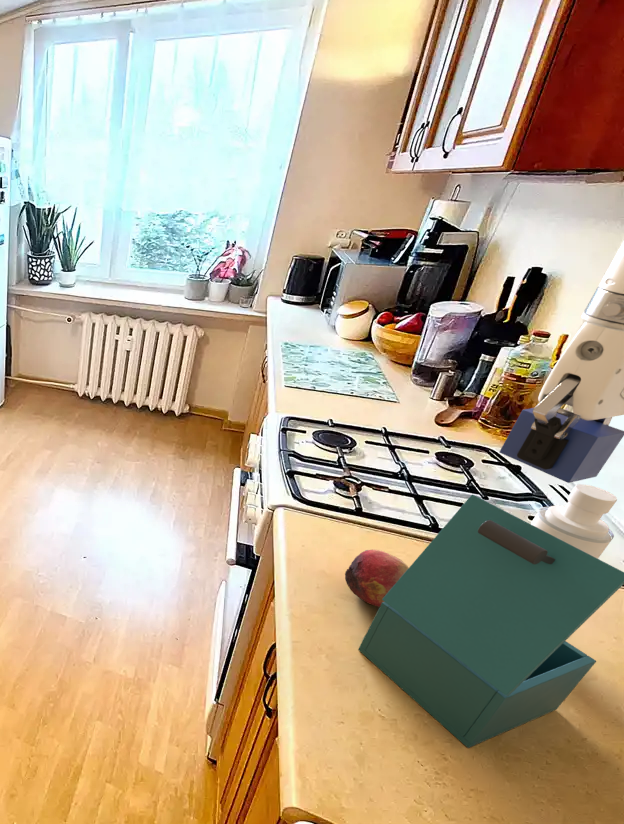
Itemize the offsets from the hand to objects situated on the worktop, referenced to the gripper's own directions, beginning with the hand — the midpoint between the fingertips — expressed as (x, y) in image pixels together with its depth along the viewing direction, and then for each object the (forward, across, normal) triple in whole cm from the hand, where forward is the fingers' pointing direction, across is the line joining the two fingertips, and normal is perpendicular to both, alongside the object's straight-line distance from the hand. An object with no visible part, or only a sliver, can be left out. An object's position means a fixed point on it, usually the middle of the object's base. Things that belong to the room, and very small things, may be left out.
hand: (549, 458), depth 62 cm
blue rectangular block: (+1, 0, 0) cm, 1 cm away
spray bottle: (+28, +6, -3) cm, 28 cm away
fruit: (+28, -8, +6) cm, 29 cm away
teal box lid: (+11, -14, -7) cm, 19 cm away
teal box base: (+27, -10, -7) cm, 30 cm away
